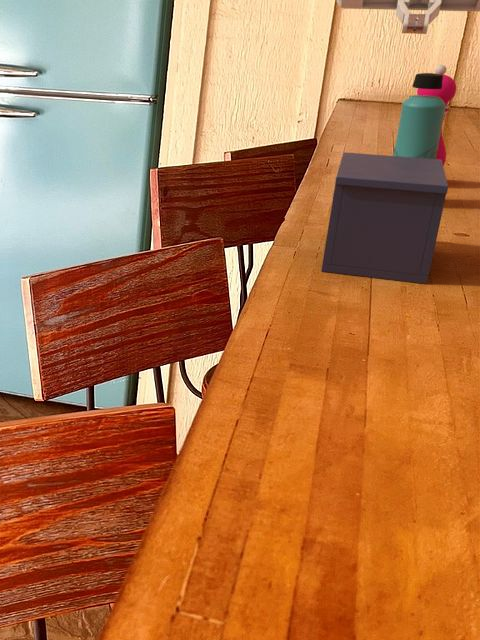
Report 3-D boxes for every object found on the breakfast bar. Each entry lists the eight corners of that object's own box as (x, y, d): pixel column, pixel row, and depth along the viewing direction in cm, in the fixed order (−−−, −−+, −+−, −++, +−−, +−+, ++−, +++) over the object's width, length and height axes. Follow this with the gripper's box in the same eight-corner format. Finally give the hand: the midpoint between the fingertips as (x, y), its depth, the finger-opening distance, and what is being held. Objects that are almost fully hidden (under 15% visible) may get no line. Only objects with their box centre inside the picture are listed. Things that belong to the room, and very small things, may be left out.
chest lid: (446, 194, 100) (448, 186, 100) (335, 184, 104) (336, 176, 104) (440, 166, 114) (441, 159, 114) (342, 158, 118) (343, 152, 118)
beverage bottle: (423, 209, 139) (450, 76, 131) (379, 203, 142) (403, 73, 134) (431, 201, 144) (457, 72, 136) (387, 196, 147) (411, 70, 139)
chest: (426, 284, 105) (446, 192, 101) (321, 271, 109) (335, 183, 105) (423, 249, 119) (440, 166, 114) (329, 239, 123) (342, 159, 118)
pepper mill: (396, 185, 155) (419, 65, 147) (395, 177, 161) (417, 61, 153) (441, 189, 152) (467, 67, 144) (439, 180, 159) (463, 63, 150)
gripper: (511, -35, 115) (501, 51, 110) (344, -36, 122) (328, 44, 117) (524, -75, 109) (514, 13, 105) (348, -73, 116) (331, 9, 112)
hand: (414, 30), depth 111 cm, fingers closed
